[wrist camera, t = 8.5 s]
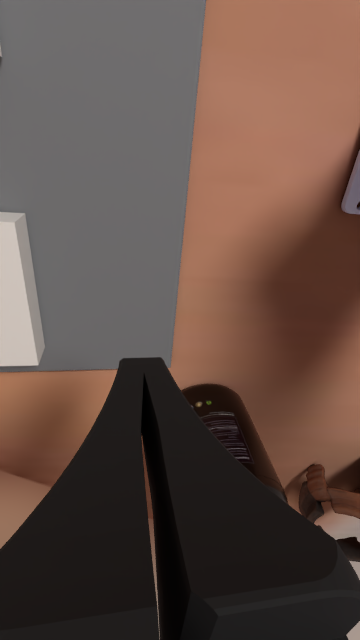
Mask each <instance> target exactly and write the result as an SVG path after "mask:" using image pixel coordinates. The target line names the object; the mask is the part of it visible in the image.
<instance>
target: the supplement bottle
mask: <svg viewBox="0 0 360 640" xmlns="http://www.w3.org/2000/svg"><path fill="white" fill-rule="evenodd" d="M181 392H182V393H183V395H184V396H185V398H186V399H187V401H188V402H189V404H190V405H191V406H192V408H193V409H194V410H195V412H196V413H197V415H198V416H199V417H200V418H201V420H202V421H203V422H204V423H205V425H206V426H207V427H208V428H209V430H210V431H211V432H212V433H213V434H214V435H215V437H216V438H217V439H218V440H219V441H220V442H221V443H222V444H223V445H224V446H225V448H226V449H227V450H228V451H229V452H230V453H231V454H232V455H233V456H234V457H235V458H236V459H237V460H238V461H239V462H240V463H241V464H242V465H243V466H244V467H245V468H247V469H248V470H249V471H250V472H251V473H252V474H253V475H254V476H255V477H256V478H258V479H259V480H260V481H261V482H262V483H263V484H264V485H265V486H266V487H267V488H269V489H270V490H271V491H272V492H273V493H274V494H276V495H277V496H278V497H279V498H281V499H282V500H283V501H284V502H285V503H287V504H288V501H287V498H286V495H285V492H284V490H283V488H282V485H281V483H280V481H279V479H278V477H277V474H276V472H275V470H274V468H273V466H272V464H271V461H270V459H269V457H268V455H267V453H266V451H265V448H264V446H263V444H262V442H261V440H260V437H259V435H258V433H257V431H256V429H255V427H254V424H253V422H252V420H251V418H250V416H249V414H248V411H247V409H246V407H245V405H244V403H243V401H242V400H241V398H240V397H239V396H238V394H237V393H235V392H234V391H233V390H231V389H230V388H227V387H225V386H222V385H218V384H200V385H196V386H192V387H189V388H187V389H185V390H183V391H181Z"/></svg>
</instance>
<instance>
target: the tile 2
mask: <svg viewBox="0 0 360 640" xmlns="http://www.w3.org/2000/svg"><path fill="white" fill-rule="evenodd" d="M44 348H45V344H44V337H43V331H42V324H41V317H40V310H39V304H38V297H37V290H36V283H35V277H34V270H33V263H32V257H31V250H30V243H29V236H28V230H27V223H26V216H25V213H11V212H0V366H33V365H39V362H40V359H41V357H42V354H43V351H44Z"/></svg>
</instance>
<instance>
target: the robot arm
mask: <svg viewBox="0 0 360 640" xmlns="http://www.w3.org/2000/svg"><path fill="white" fill-rule="evenodd" d="M359 202H360V150H359V153H358V156H357V159H356V162H355V165H354V168H353V171H352V174H351V177H350V180H349V183H348V186H347V189H346V192H345V195H344V198H343V201H342V205H341V208H342V210H343V211H344V212H346V213H349V214H360V207H358V208H357V204H358V203H359ZM141 436H142V438H143V445H144V452H145V459H146V466H147V472H148V479H149V486H150V493H151V500H152V509H153V521H154V536H155V554H156V572H157V590H158V609H159V628H158V612H157V601H156V592H155V583H154V574H153V564H152V554H151V544H150V535H149V524H148V512H147V502H146V491H145V479H144V466H143V454H142V440H141ZM359 621H360V580H359V578H358V576H357V574H356V572H355V570H354V569H353V567H352V565H351V564H350V562H349V560H348V559H347V557H346V556H345V554H344V552H343V551H342V549H341V548H340V546H339V545H338V543H337V541H336V540H335V539H334V538H333V537H331V536H330V535H328V534H327V533H326V532H324V531H323V530H322V529H320V528H319V527H317V526H316V525H315V524H313V523H312V522H311V521H309V520H308V519H306V518H305V517H304V516H302V515H301V514H300V513H298V512H297V511H295V510H294V509H293V508H292V507H290V506H289V505H288V504H287V503H285V502H284V501H283V500H282V499H281V498H279V497H278V496H277V495H276V494H274V493H273V492H272V491H271V490H270V489H269V488H267V487H266V486H265V485H264V484H263V483H262V482H261V481H260V480H259V479H258V478H256V477H255V476H254V475H253V474H252V473H251V472H250V471H249V470H248V469H247V468H245V467H244V466H243V465H242V464H241V463H240V462H239V461H238V460H237V459H236V458H235V457H234V456H233V455H232V454H231V453H230V452H229V451H228V450H227V449H226V448H225V446H224V445H223V444H222V443H221V442H220V441H219V440H218V439H217V438H216V437H215V435H214V434H213V433H212V432H211V431H210V430H209V428H208V427H207V426H206V425H205V423H204V422H203V421H202V420H201V418H200V417H199V416H198V415H197V413H196V412H195V410H194V409H193V408H192V406H191V405H190V404H189V402H188V401H187V399H186V398H185V396H184V395H183V393H182V392H181V390H180V389H179V387H178V386H177V384H176V382H175V381H174V379H173V377H172V375H171V374H170V372H169V370H168V368H167V366H166V364H165V362H164V360H163V359H162V358H161V357H148V358H122V359H121V360H120V361H119V367H118V371H117V374H116V377H115V380H114V383H113V385H112V388H111V390H110V392H109V395H108V397H107V399H106V401H105V404H104V406H103V408H102V410H101V412H100V414H99V415H98V417H97V419H96V421H95V423H94V425H93V427H92V428H91V430H90V432H89V434H88V435H87V437H86V439H85V440H84V442H83V444H82V445H81V447H80V448H79V450H78V451H77V453H76V454H75V456H74V458H73V459H72V460H71V462H70V463H69V465H68V466H67V468H66V469H65V470H64V472H63V473H62V475H61V476H60V477H59V479H58V480H57V482H56V483H55V484H54V486H53V487H52V488H51V490H50V491H49V492H48V494H47V495H46V496H45V497H44V498H43V500H42V501H41V502H40V503H39V505H38V506H37V507H36V508H35V509H34V511H33V512H32V513H31V514H30V515H29V517H28V518H27V519H26V520H25V522H24V523H23V524H22V525H21V526H20V528H19V529H18V530H17V531H16V533H14V535H13V536H12V537H11V538H10V539H9V540H8V541H7V542H6V544H5V545H4V546H3V547H2V548H1V549H0V640H159V629H160V640H348V638H347V636H346V634H347V633H348V632H349V631H350V630H351V629H352V628H353V627H354V626H355V625H356V624H357V623H358V622H359Z"/></svg>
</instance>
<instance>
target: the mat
mask: <svg viewBox="0 0 360 640" xmlns="http://www.w3.org/2000/svg"><path fill="white" fill-rule="evenodd" d="M205 6H206V0H0V46H1V53H2V57H0V212H11V213H25V216H26V223H27V230H28V236H29V243H30V250H31V257H32V263H33V270H34V277H35V283H36V290H37V297H38V304H39V310H40V317H41V324H42V331H43V337H44V344H45V348H44V351H43V354H42V357H41V359H40V362H39V365H33V366H0V372H20V371H58V370H96V369H118V367H119V361H120V360H121V359H122V358H148V357H161V358H162V359H163V360H164V362H165V364H166V366H167V368H170V366H171V356H172V346H173V335H174V325H175V315H176V304H177V294H178V284H179V274H180V263H181V253H182V243H183V232H184V222H185V212H186V201H187V191H188V181H189V171H190V160H191V150H192V140H193V129H194V119H195V109H196V98H197V88H198V78H199V67H200V57H201V47H202V37H203V26H204V16H205Z"/></svg>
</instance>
